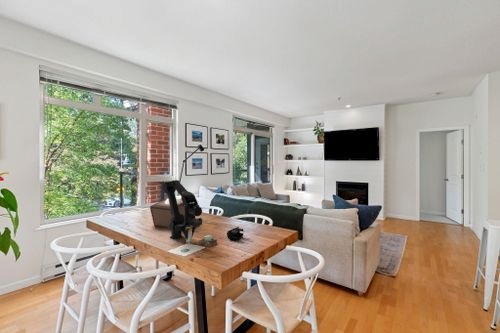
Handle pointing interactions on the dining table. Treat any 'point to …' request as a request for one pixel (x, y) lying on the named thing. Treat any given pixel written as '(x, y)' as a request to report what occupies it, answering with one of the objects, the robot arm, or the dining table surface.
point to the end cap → (235, 234)
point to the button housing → (208, 244)
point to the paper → (186, 249)
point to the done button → (208, 238)
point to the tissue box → (164, 212)
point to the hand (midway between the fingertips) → (189, 238)
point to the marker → (189, 235)
